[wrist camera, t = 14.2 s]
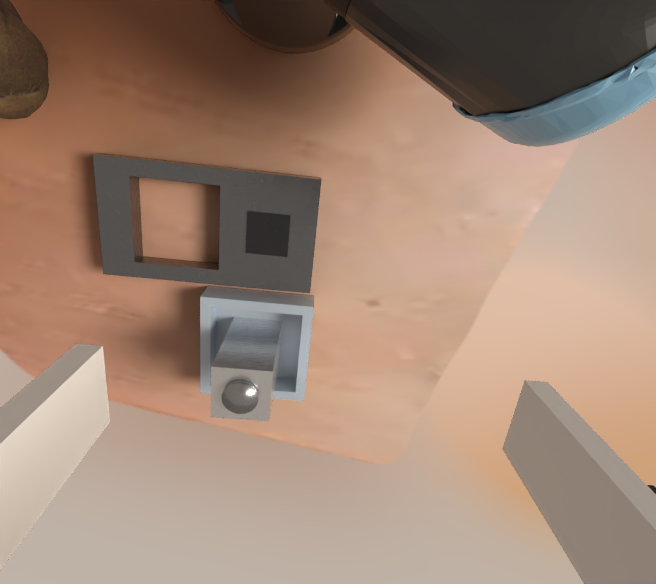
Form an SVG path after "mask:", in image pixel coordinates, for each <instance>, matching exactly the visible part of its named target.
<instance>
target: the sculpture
mask: <svg viewBox="0 0 656 584" xmlns="http://www.w3.org/2000/svg"><path fill="white" fill-rule="evenodd" d="M48 81H49V80H48V58H47V54H46V52H45V50H44V48H43V46H42V44H41V42H40V41H39V40H38V39H37V37H36V36H35V35H34V34H33V33H32V32H31V31H30V30H29V29H28V28H27V27H26V26H25V25H24V24H23V22H22V20H21V18H20V16H19V14H18V12H17V11H16V9H15V8H14V6H13V5H12V3H11V2H10V1H9V0H0V118H5V119H18V118H26V117H28V116H30V115H31V114H32V113H33V112H35V111H36V110H37V109H38V108H40V106H41V105H42V103H43V101H44V100H45V99H46V97H47V93H48V88H49V82H48Z"/></svg>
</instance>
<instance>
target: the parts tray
mask: <svg viewBox="0 0 656 584" xmlns="http://www.w3.org/2000/svg"><path fill="white" fill-rule="evenodd" d="M313 311H314V296H312V295H301V294H290V293H280V292H269V291H258V290H247V289H236V288H225V287H215V286H208V287H207V288H206V290H205V291H204V292H203V294H202V295H201V296H200V393H205V394H211V366H212V364H213V362H214V360H215V358H216V356H217V353H218V351H219V349H220V347H221V345H222V343H223V341H224V338H225V336H226V334H227V332H228V330H229V328H230V326H231V323H232V321H233V319H234V317H243V318H254V319H266V320H277V321H282V330H281V344H280V357H279V365H278V371H277V377H276V383H275V389H274V395H273V399H284V400H297V401H304V396H305V386H306V377H307V367H308V358H309V349H310V339H311V330H312V320H313Z"/></svg>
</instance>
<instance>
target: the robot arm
mask: <svg viewBox="0 0 656 584" xmlns="http://www.w3.org/2000/svg"><path fill="white" fill-rule="evenodd" d="M215 2H216V3H217V5H218V6H219V8H220V9H221V10H222V12H223V13H224V14H225V16H226V17H227V18H228V19H229V20H230V22H231V23H232V24H233V25H234V26H235V27H236V28H237V29H239V30H240V31H241V32H242V33H243V34H245V35H246V36H247V37H249V38H250V39H252V40H253V41H255V42H257V43H259V44H261V45H263V46H265V47H268V48H271V49H273V50H277V51H282V52H289V53H304V52H311V51H316V50H319V49H322V48H325V47H327V46H330V45H332V44H334V43H335V42H337V41H339V40H340V39H342V38H343V37H345V36H346V35H347V34H348V33H350V32H351V31H352V30H353V29H354V28H356V29H357V30H358V31H360V32H361V33H362V34H364V35H365V36H366V37H368V38H369V39H370V40H372V41H373V42H374V43H376V44H377V45H378V46H379V47H381V48H382V49H383V50H385V51H386V52H387V53H389V54H390V55H391V56H393V57H394V58H395V59H396V60H398V61H399V62H400V63H402V64H403V65H404V66H406V67H407V68H408V69H410V70H411V71H412V72H414V73H415V74H416V75H417V76H419V77H420V78H421V79H423V80H424V81H425V82H427V83H428V84H429V85H431V86H432V87H433V88H435V89H436V90H437V91H438V92H440V93H441V94H442V95H444V96H445V97H446V98H448V99H449V100H450V101H452V103H453V107H454V108H455V109H456V110H457V111H458V112H459V113H460V114H461V115H462V116H464V117H466V118H468V119H472V120H474V121H477V122H480V123H481V124H483V125H484V126H486V127H487V128H489V129H490V130H492V131H493V132H495V133H496V134H497V135H499V136H500V137H502V138H503V139H505V140H507V141H509V142H512V143H516V144H521V145H526V146H536V147H540V146H548V145H555V144H560V143H564V142H567V141H571V140H574V139H577V138H580V137H582V136H585V135H588V134H590V133H593V132H595V131H597V130H599V129H601V128H604V127H606V126H608V125H610V124H612V123H614V122H616V121H618V120H620V119H621V118H623V117H625V116H627V115H629V114H630V113H632V112H634V111H636V110H637V109H639V108H640V107H642V106H644V105H645V104H647V103H648V102H650V101H651V100H653V99H654V98H656V0H215ZM109 422H110V416H109V406H108V395H107V385H106V374H105V364H104V354H103V346H97V345H85V344H75V345H74V346H73V347H72V348H71V349H70V350H68V351H67V352H66V353H65V354H64V355H62V356H61V357H60V358H59V359H58V360H56V361H55V362H54V363H53V364H52V365H50V366H49V367H48V368H47V369H46V370H45V371H43V372H42V373H41V374H40V375H39V376H37V377H36V378H35V379H34V380H33V381H32V382H30V383H29V384H28V385H27V386H25V387H24V388H23V389H22V390H21V391H20V392H18V393H17V394H16V395H15V396H14V397H12V398H11V399H10V400H9V401H8V402H6V403H5V404H4V405H3V406H2V407H0V570H1V569H2V567H3V566H4V564H5V563H6V562H7V560H8V559H9V558H10V556H11V555H12V553H13V552H14V551H15V550H16V548H17V547H18V545H19V544H20V543H21V541H22V540H23V539H24V537H25V536H26V534H27V533H28V532H29V531H30V529H31V528H32V527H33V525H34V524H35V522H36V521H37V520H38V518H39V517H40V516H41V514H42V513H43V511H44V510H45V509H46V508H47V506H48V505H49V504H50V502H51V501H52V499H53V498H54V497H55V495H56V494H57V493H58V491H59V490H60V489H61V487H62V486H63V485H64V483H65V482H66V480H67V479H68V478H69V476H70V475H71V474H72V472H73V471H74V470H75V468H76V467H77V465H78V464H79V463H80V461H81V460H82V459H83V457H84V456H85V455H86V453H87V452H88V451H89V449H90V448H91V447H92V445H93V444H94V443H95V441H96V440H97V439H98V437H99V436H100V434H101V433H102V432H103V430H104V429H105V427H106V426H107V425H108V423H109ZM503 451H504V452H505V454H506V456H507V457H508V459H509V461H510V462H511V464H512V466H513V467H514V469H515V471H516V472H517V474H518V475H519V477H520V479H521V480H522V482H523V483H524V485H525V487H526V489H527V490H528V492H529V494H530V495H531V497H532V499H533V500H534V502H535V503H536V505H537V506H538V508H539V510H540V512H541V513H542V515H543V516H544V518H545V520H546V521H547V523H548V525H549V527H550V528H551V530H552V532H553V533H554V535H555V536H556V538H557V540H558V541H559V543H560V545H561V546H562V548H563V550H564V551H565V553H566V554H567V556H568V558H569V559H570V561H571V563H572V565H573V566H574V568H575V569H576V571H577V573H578V574H579V576H580V578H581V579H582V581H583V582H584V584H656V488H655V487H654V486H652V485H646V484H645V483H644V482H643V481H642V480H641V479H640V478H639V476H638V475H637V474H636V473H635V472H634V471H633V470H632V469H631V468H630V467H629V466H628V465H627V464H626V463H625V462H624V461H623V460H622V459H621V458H620V457H619V456H618V455H617V454H616V453H615V452H614V451H613V449H611V448H610V447H609V445H608V444H607V443H606V442H605V441H604V440H603V439H602V438H601V437H600V436H599V435H598V434H597V433H596V432H595V431H594V430H593V429H592V428H591V427H590V426H589V425H588V424H587V423H586V421H584V419H583V418H582V417H581V416H580V415H579V414H578V413H577V412H576V411H575V410H574V409H573V408H572V407H571V406H570V405H569V404H568V403H567V402H566V401H565V400H564V399H563V398H562V397H561V396H560V394H559V393H558V392H556V390H555V389H554V388H553V387H552V386H551V385H550V384H549V383H548V382H539V381H526V380H525V381H524V384H523V387H522V390H521V393H520V397H519V400H518V403H517V406H516V409H515V412H514V415H513V418H512V421H511V424H510V427H509V430H508V433H507V436H506V439H505V443H504V446H503Z"/></svg>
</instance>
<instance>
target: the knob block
mask: <svg viewBox="0 0 656 584" xmlns="http://www.w3.org/2000/svg"><path fill="white" fill-rule="evenodd" d="M281 330H282V321H277V320H266V319H254V318H243V317H234V319H233V321H232V323H231V326H230V328H229V330H228V332H227V334H226V336H225V338H224V341H223V343H222V345H221V347H220V349H219V351H218V353H217V356H216V358H215V360H214V362H213V364H212V366H211V417H217V418H231V419H245V420H259V421H269V419H270V413H271V407H272V401H273V395H274V389H275V383H276V377H277V371H278V365H279V357H280V344H281Z"/></svg>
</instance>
